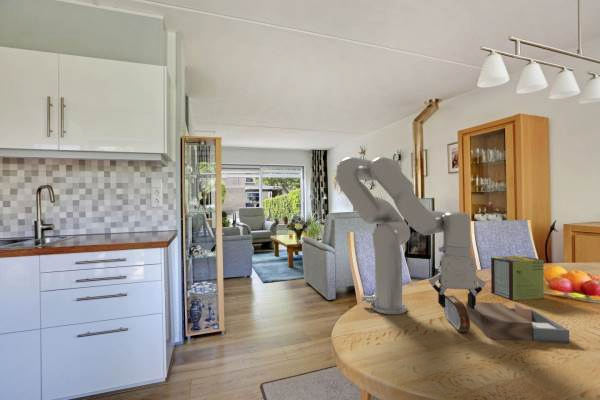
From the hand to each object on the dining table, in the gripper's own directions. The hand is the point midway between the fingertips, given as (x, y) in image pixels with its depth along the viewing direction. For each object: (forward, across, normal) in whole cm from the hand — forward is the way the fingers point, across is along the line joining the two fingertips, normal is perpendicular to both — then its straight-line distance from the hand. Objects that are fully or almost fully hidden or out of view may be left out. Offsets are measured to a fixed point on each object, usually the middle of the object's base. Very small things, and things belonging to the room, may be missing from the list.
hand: (456, 306), depth 92 cm
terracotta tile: (+3, +20, +4) cm, 21 cm away
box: (+6, +22, 0) cm, 23 cm away
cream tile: (+3, +23, -4) cm, 23 cm away
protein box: (+6, +36, +34) cm, 50 cm away
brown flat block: (+6, +12, 0) cm, 13 cm away
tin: (+6, 0, 0) cm, 6 cm away
